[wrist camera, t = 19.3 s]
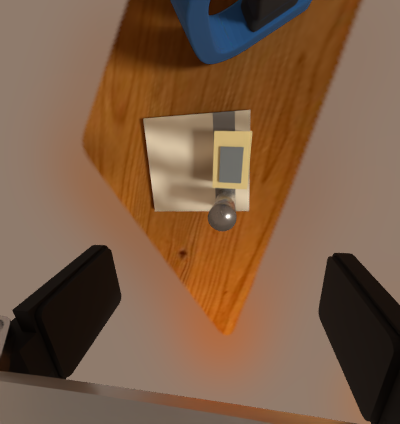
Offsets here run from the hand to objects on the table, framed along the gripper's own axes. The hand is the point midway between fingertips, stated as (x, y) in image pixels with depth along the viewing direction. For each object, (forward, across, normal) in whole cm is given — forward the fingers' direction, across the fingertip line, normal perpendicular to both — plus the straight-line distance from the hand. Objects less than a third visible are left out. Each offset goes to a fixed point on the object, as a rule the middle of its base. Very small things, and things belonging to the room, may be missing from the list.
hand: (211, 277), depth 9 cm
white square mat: (+25, +5, -1) cm, 26 cm away
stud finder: (+24, 0, -2) cm, 24 cm away
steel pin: (+24, 0, +4) cm, 24 cm away
